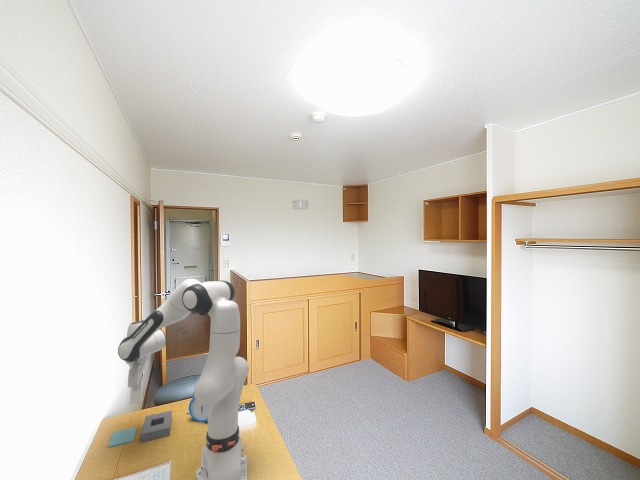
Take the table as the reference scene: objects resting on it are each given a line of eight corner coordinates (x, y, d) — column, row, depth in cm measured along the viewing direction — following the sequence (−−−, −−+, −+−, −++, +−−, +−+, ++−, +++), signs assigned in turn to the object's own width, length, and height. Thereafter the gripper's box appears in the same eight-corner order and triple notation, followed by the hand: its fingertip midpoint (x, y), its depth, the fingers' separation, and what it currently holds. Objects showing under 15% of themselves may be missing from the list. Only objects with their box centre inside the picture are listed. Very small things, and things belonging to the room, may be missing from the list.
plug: (140, 402, 124) (141, 376, 125) (130, 404, 123) (131, 378, 123) (142, 398, 128) (143, 372, 128) (131, 399, 126) (132, 374, 127)
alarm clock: (188, 422, 134) (188, 390, 135) (195, 414, 140) (195, 384, 141) (213, 424, 133) (214, 392, 133) (219, 416, 139) (220, 386, 139)
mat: (133, 442, 120) (133, 440, 120) (107, 449, 116) (107, 446, 116) (137, 428, 129) (137, 426, 129) (113, 434, 125) (113, 432, 125)
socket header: (169, 436, 124) (169, 427, 124) (140, 443, 119) (140, 434, 120) (171, 418, 137) (171, 410, 137) (145, 424, 132) (145, 416, 132)
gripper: (142, 364, 118) (140, 397, 117) (149, 348, 136) (148, 376, 136) (124, 367, 115) (122, 401, 115) (133, 349, 134) (132, 378, 133)
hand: (136, 387), depth 125 cm, fingers closed on plug, 4 cm apart
